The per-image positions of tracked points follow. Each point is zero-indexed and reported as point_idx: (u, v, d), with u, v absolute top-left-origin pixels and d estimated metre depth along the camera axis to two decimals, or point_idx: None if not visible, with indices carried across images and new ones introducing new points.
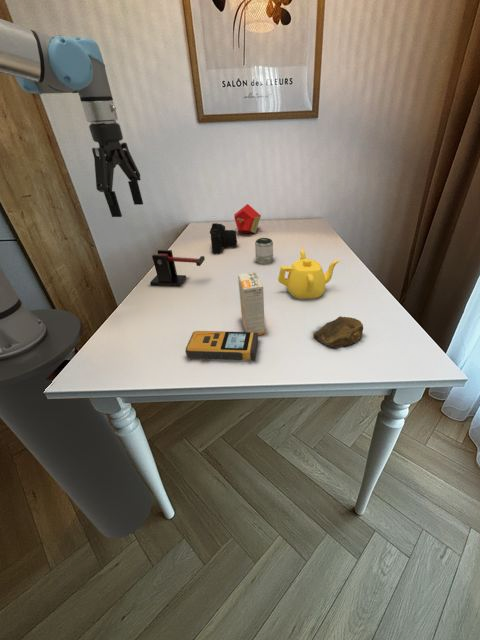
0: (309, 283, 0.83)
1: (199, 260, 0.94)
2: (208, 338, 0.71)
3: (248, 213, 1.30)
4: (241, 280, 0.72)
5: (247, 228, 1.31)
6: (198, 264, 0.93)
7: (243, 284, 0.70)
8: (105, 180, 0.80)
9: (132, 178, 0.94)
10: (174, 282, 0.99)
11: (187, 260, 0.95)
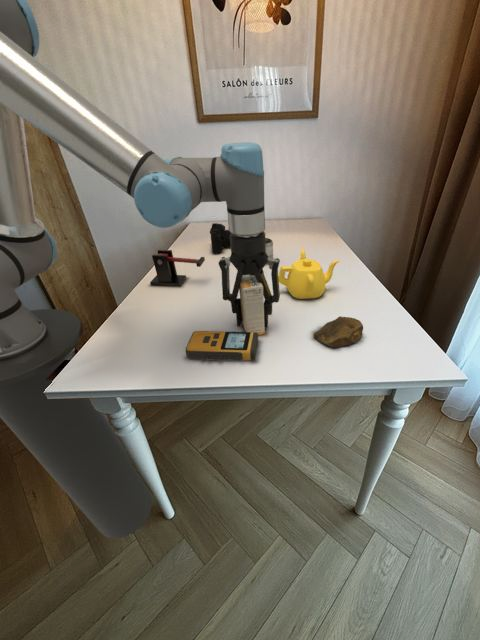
0: (309, 283, 0.83)
1: (199, 261, 0.94)
2: (208, 338, 0.71)
3: None
4: (241, 280, 0.72)
5: None
6: (198, 265, 0.94)
7: (243, 284, 0.70)
8: None
9: (235, 297, 0.75)
10: (174, 282, 0.99)
11: (187, 261, 0.95)
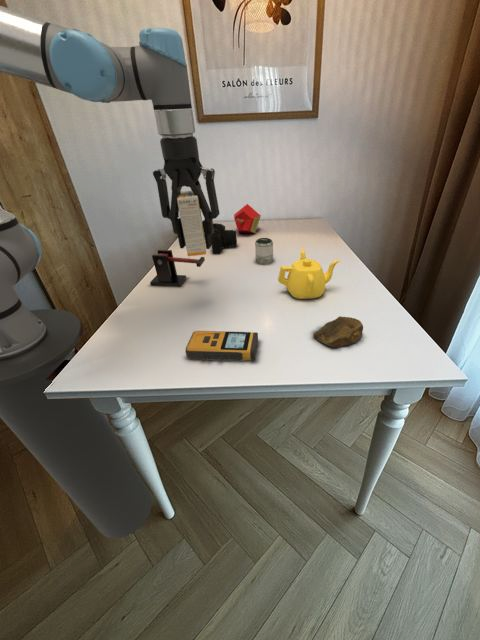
0: (309, 283, 0.83)
1: (199, 261, 0.94)
2: (208, 338, 0.71)
3: (248, 213, 1.29)
4: None
5: (247, 228, 1.31)
6: (198, 265, 0.94)
7: (179, 196, 0.70)
8: None
9: (175, 215, 0.74)
10: (174, 282, 0.99)
11: (187, 261, 0.95)
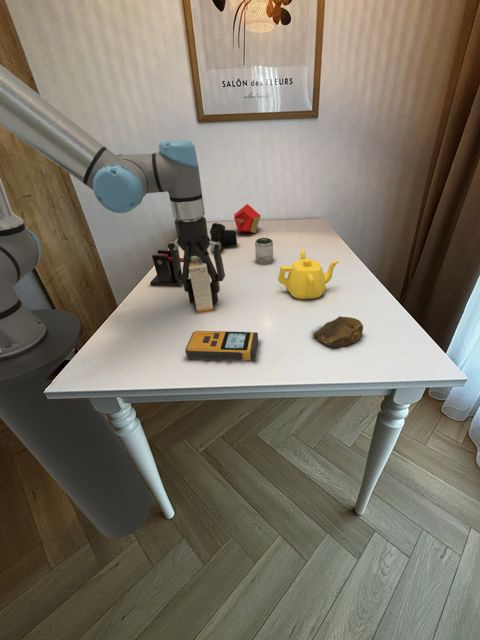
0: (309, 283, 0.83)
1: None
2: (208, 338, 0.71)
3: (248, 213, 1.29)
4: None
5: (247, 228, 1.31)
6: None
7: (190, 264, 0.80)
8: None
9: (186, 277, 0.85)
10: (174, 282, 0.99)
11: None
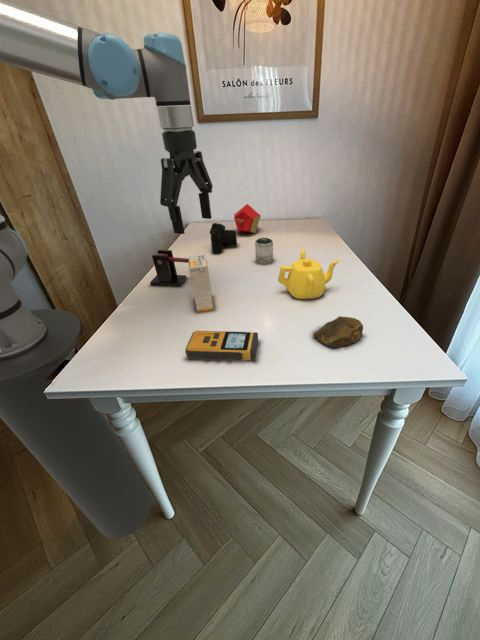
0: (309, 283, 0.83)
1: None
2: (208, 338, 0.71)
3: (248, 213, 1.29)
4: (189, 261, 0.82)
5: (247, 228, 1.31)
6: None
7: (190, 264, 0.80)
8: None
9: None
10: (174, 282, 0.99)
11: (187, 261, 0.95)
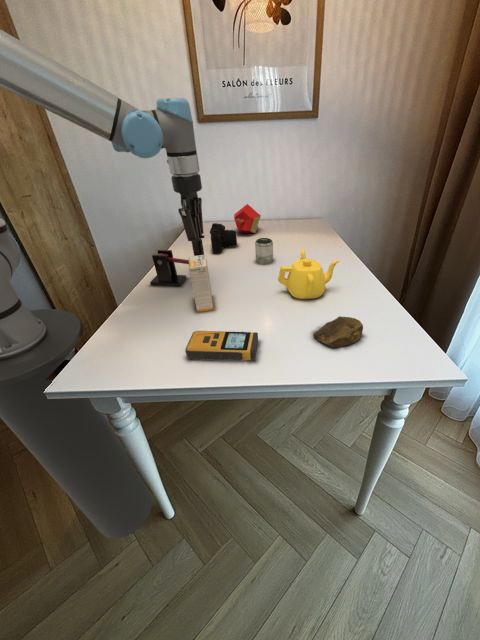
0: (309, 283, 0.83)
1: None
2: (208, 338, 0.71)
3: (248, 213, 1.29)
4: (189, 261, 0.82)
5: (247, 228, 1.31)
6: None
7: (190, 264, 0.80)
8: None
9: None
10: (174, 282, 0.99)
11: (187, 262, 0.96)
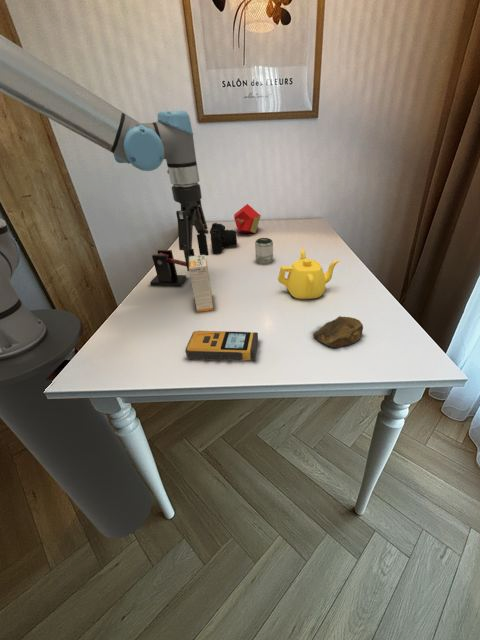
0: (309, 283, 0.83)
1: None
2: (208, 338, 0.71)
3: (248, 213, 1.29)
4: (189, 261, 0.82)
5: (247, 228, 1.31)
6: None
7: (190, 264, 0.80)
8: None
9: None
10: (174, 282, 0.99)
11: None
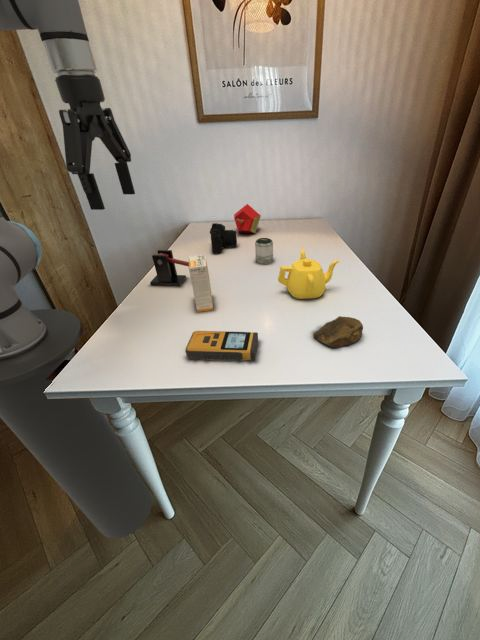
0: (309, 283, 0.83)
1: None
2: (208, 338, 0.71)
3: (248, 213, 1.29)
4: (189, 261, 0.82)
5: (247, 228, 1.31)
6: None
7: (190, 264, 0.80)
8: None
9: None
10: (174, 282, 0.99)
11: (187, 264, 0.96)
